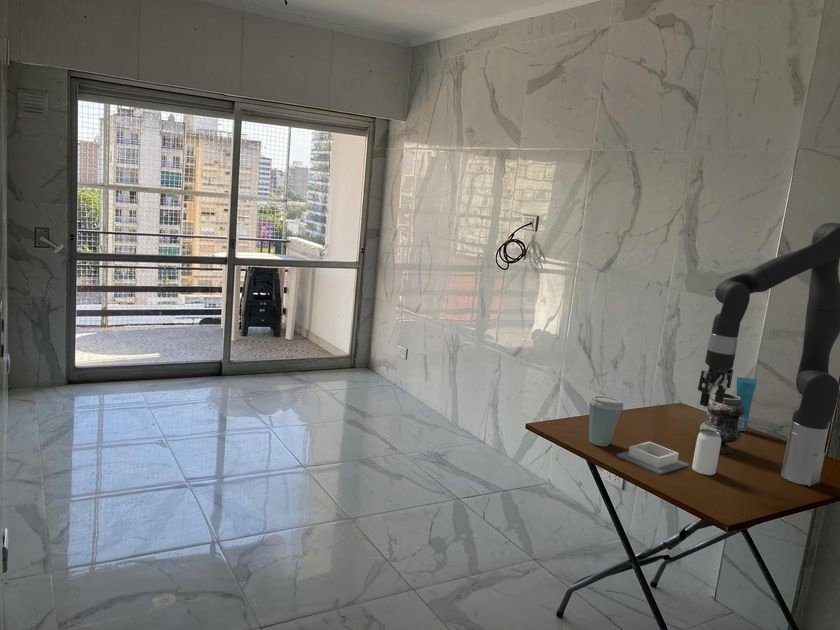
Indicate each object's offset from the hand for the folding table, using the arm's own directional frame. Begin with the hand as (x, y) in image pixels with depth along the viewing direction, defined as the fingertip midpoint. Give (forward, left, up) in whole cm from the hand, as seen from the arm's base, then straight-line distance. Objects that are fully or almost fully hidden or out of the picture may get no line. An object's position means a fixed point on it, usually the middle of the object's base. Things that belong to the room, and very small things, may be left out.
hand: (711, 404), depth 198 cm
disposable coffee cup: (+27, +11, -20) cm, 36 cm away
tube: (+14, -51, -20) cm, 56 cm away
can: (-2, 0, -20) cm, 20 cm away
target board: (+10, +8, -20) cm, 24 cm away
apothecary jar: (+7, -24, -20) cm, 32 cm away
